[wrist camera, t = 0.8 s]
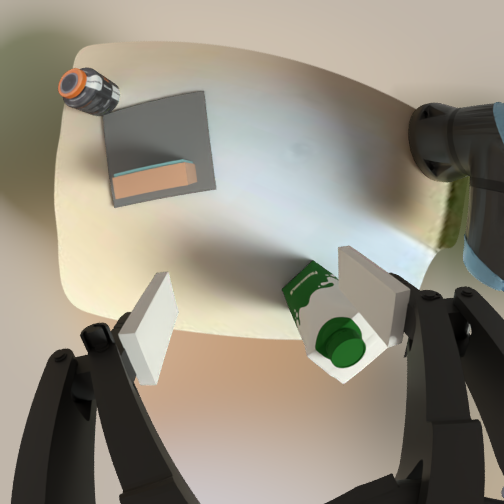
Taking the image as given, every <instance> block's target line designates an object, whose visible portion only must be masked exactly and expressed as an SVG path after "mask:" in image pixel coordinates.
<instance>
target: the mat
mask: <svg viewBox="0 0 504 504" xmlns="http://www.w3.org/2000/svg"><path fill="white" fill-rule="evenodd" d="M103 121H104V134H105V145H106V154H107V162H108V170H109V177H110V184H111V190H112V196H113V202H114V208H117V207H122V206H126V205H131V204H136V203H141V202H146V201H151V200H156V199H161V198H167V197H172V196H178V195H184V194H190V193H196V192H202V191H209V190H215V189H216V184H215V176H214V169H213V161H212V154H211V146H210V138H209V130H208V121H207V113H206V104H205V95H204V91H200V92H194V93H188V94H183V95H178V96H173V97H168V98H164V99H159V100H155V101H151V102H147V103H143V104H139V105H135V106H132V107H128V108H125V109H121V110H118V111H115V112H112V113H109V114H106V115H103ZM181 159H184V160H188V161H192V162H193V164H195V169H196V176H197V182H195V183H192V184H190V185H185V186H180V187H174V188H169V189H163V190H158V191H153V192H148V193H143V194H138V195H134V196H129V197H124V198H120V199H115V193H114V187H113V180H112V178H114V174H117V173H121V172H125V171H129V170H133V169H138V168H142V167H146V166H151V165H156V164H160V163H165V162H170V161H176V160H181Z"/></svg>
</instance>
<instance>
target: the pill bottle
mask: <svg viewBox="0 0 504 504" xmlns="http://www.w3.org/2000/svg"><path fill="white" fill-rule="evenodd" d="M58 92H59V94H60V95H61V96H63V100H64V102H65V103H66V104H67V105H68V106H70V107H72V108H75V109H78V110H81V111H84V112H86V113H89V114H92V115H95V116H103V115H106V114H109V113H110V112H111V111H112V110H113V109H114V108H115V107H116V106H117V104H118V102H119V98H120V91H119V88H118V86H117V85H116V84H114V83H113V82H111V81H110V80H108V79H107V78H106V77H104V76H103V75H101V74H100V73H98V72H97V71H95V70H94V69H92V68H82V69H77V68H74V69H71V70H69V71H67V72H66V73H65V74H64V75H63V76H62V78H61V80H60V81H59V85H58Z"/></svg>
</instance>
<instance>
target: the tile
mask: <svg viewBox="0 0 504 504" xmlns="http://www.w3.org/2000/svg"><path fill="white" fill-rule="evenodd" d="M112 180H113V187H114V193H115V199H120V198H124V197H129V196H134V195H138V194H143V193H148V192H153V191H158V190H163V189H169V188H174V187H180V186H185V185H190V184H192V183H195V182H197V176H196V169H195V164H193V162H192V161H188V160H184V159H181V160H176V161H170V162H165V163H160V164H156V165H151V166H146V167H142V168H138V169H133V170H129V171H125V172H121V173H117V174H114V178H112Z"/></svg>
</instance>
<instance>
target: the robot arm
mask: <svg viewBox="0 0 504 504" xmlns="http://www.w3.org/2000/svg"><path fill="white" fill-rule="evenodd" d="M409 143H410V148H411V152H412V155H413V157H414V160H415V162H416V164H417V165H418V167H419V168H420V170H421V171H422V172H423V173H424V174H425V175H426V176H427V177H428V178H430V179H432V180H434V181H439V182H452V181H455V180H458V179H461V178H463V177H466V176H470V188H469V189H470V190H469V206H468V216H467V217H468V218H467V226H466V232H465V235H464V241H465V245H464V253H463V260H464V264H465V266H466V267H467V270H468V271H469V272H470V273H471V274H472V275H473V276H474V277H475V278H476V279H477V280H479V281H480V282H482V283H483V284H485V285H487V286H489V287H491V288H493V289H495V290H498V291H500V290H502V291H504V103H501V102H496V103H494V104H486V105H477V106H470V107H463V108H455V107H452V106H448V105H445V104H441V103H429V104H425V105H422V106H420V107H419V108H417V109H416V110H415V112H414V113H413V115H412V117H411V120H410V124H409ZM338 267H339V289H340V291H341V292H342V293H343V294H344V295H345V296H346V298H347V299H348V300H349V301H350V302H351V303H352V305H353V306H354V307H355V308H356V309H357V310H358V312H359V313H360V314H361V315H362V316H363V318H364V319H365V320H366V321H367V322H368V324H369V325H370V326H371V327H372V328H373V330H374V331H375V332H376V333H377V335H378V336H379V337H380V338H381V339H382V341H383V342H384V343H385V344H386V346H387V347H391V346H394V345H397V344H400V343H402V339H403V334H404V332H405V334H406V335H407V336H408V337H409V338H408V342H407V347H406V352H405V355H404V357H407V400H406V416H405V427H404V437H403V445H402V453H401V459H400V465H399V469H398V472H397V474H396V477H395V478H394V476H393V474H389V475H387V476H384V477H382V478H379V479H377V480H374V481H372V482H369V483H366V484H363V485H360V486H357V487H355V488H354V489H352V490H350V491H348V492H346V493H345V494H343V495H341V496H339V497H337V498H335V499H333V500H331V501H329V502H327V503H325V504H504V501H502V500H497V499H492V498H487V497H484V485H485V462H484V444H483V434H482V426H481V422H480V421H479V420H478V419H475V420H472V419H471V417H470V411H469V403H468V396H467V390H466V384H467V386H468V388H469V391H470V393H471V395H472V397H473V399H474V401H475V404H476V406H477V408H478V411H479V413H480V415H481V418H482V420H483V423H484V426H485V428H486V431H487V433H488V436H489V439H490V442H491V445H492V447H493V451H494V454H495V457H496V459H497V462H498V465H499V467H500V469H501V471H502V473H503V475H504V320H503V318H502V317H501V316H500V315H499V314H498V313H497V312H496V311H495V310H494V308H493V307H492V306H491V305H490V304H489V303H488V302H487V301H486V300H485V299H484V298H483V297H482V296H481V295H480V294H479V293H478V292H477V291H476V290H474V289H472V288H470V287H459V288H457V289H456V290H455V294H454V298H447V299H443V297H442V296H441V294H439V293H438V292H435V291H432V290H423V291H420V290H418V289H417V288H416V287H414V286H413V285H411V284H410V283H409V282H407V281H406V280H404V279H403V278H402V277H400V276H399V275H396V274H393V273H388V272H386V271H385V270H383V269H382V268H381V267H379V266H378V265H376V264H375V263H374V262H372V261H371V260H369V259H368V258H367V257H365V256H364V255H362V254H361V253H359V252H358V251H356V250H355V249H354V248H352V247H351V246H343V247H338ZM178 313H179V311H178V308H177V304H176V300H175V296H174V292H173V288H172V284H171V280H170V276H169V272H160V273H156V275H155V276H154V278H153V279H152V281H151V282H150V284H149V285H148V287H147V288H146V290H145V291H144V293H143V295H142V296H141V298H140V299H139V301H138V302H137V304H136V306H135V307H134V309H133V310H132V312H126V313H125V314H124V315H123V316H121V317H120V318H119V320H118V322H117V324H116V325H115V326H114V329H112V331H110V328H109V326H108V325H107V324H106V323H96V324H92V325H90V326H88V327H86V328H85V329H84V330H83V331H82V332H81V334H80V336H81V339H82V341H83V343H84V345H85V347H86V350H87V352H88V355H84V356H80V357H75V356H74V354H73V352H72V351H71V350H70V349H62V350H57V351H56V352H54V353H53V354H52V355H51V356H50V358H49V359H48V362H47V364H46V367H45V369H44V372H43V374H42V377H41V380H40V382H39V385H38V388H37V391H36V393H35V397H34V399H33V402H32V406H31V409H30V412H29V415H28V418H27V422H26V426H25V429H24V433H23V437H22V441H21V445H20V449H19V454H18V459H17V464H16V469H15V475H14V481H13V490H12V498H11V504H96V503H95V485H94V443H95V424H96V411H97V408H98V413H99V417H100V420H101V424H102V429H103V432H104V436H105V439H106V443H107V446H108V449H109V453H110V455H111V459H112V462H113V465H114V467H115V470H116V473H117V476H118V479H119V481H120V483H121V486H122V489H123V493H122V494H120V495H119V500H120V503H121V504H200V502H199V501H198V500H197V498H196V497H195V495H194V494H193V492H192V491H191V490H190V488H189V486H188V485H187V483H186V482H185V480H184V479H183V477H182V475H181V474H180V472H179V471H178V469H177V467H176V466H175V464H174V462H173V461H172V459H171V457H170V455H169V454H168V452H167V450H166V448H165V446H164V444H163V443H162V441H161V439H160V437H159V435H158V433H157V431H156V429H155V427H154V425H153V424H152V421H151V419H150V417H149V415H148V413H147V411H146V408H145V406H144V404H143V402H142V400H141V397H140V395H139V393H138V390H137V388H136V386H135V384H134V380H135V377H136V376H137V378H138V380H139V383H140V385H157V382H158V378H159V374H160V371H161V367H162V364H163V361H164V357H165V354H166V351H167V347H168V344H169V341H170V338H171V334H172V331H173V328H174V325H175V322H176V319H177V316H178ZM470 328H471V330H472V333H471V335H470V333H469V331H470ZM465 382H466V384H465ZM502 497H503V498H504V487H503V489H502Z"/></svg>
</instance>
